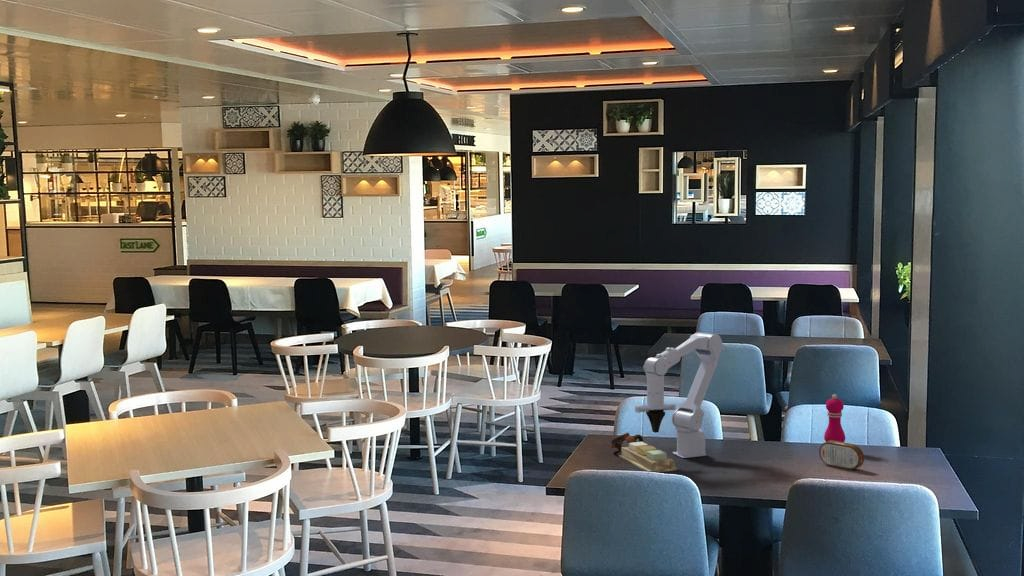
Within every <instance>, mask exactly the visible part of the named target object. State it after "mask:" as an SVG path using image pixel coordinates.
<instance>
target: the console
mask: <svg viewBox="0 0 1024 576" xmlns="http://www.w3.org/2000/svg"><path fill="white" fill-rule="evenodd" d="M620 451H621V452H620V453H621V455H620V454H619V456H618V457H619V458H620V459H623V460H624V461H625V462H628V463H630V464H632V465H633V466H635V467H637V468H638V469H641V470H643V471H645V470H646V471H645V472H647V471H657V472H656V473H664V472H673V471H678V468H677V467H676V460H675V459H673V458H672V457H669V456H667V459H666V460H657V461H652V460H650V459H648V458H647V456H642V455H640V454H638V452H634V451H632V450H630V449H629V446H628V447H627V446H622V447H621V450H620Z"/></svg>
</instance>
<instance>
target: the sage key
mask: <svg viewBox="0 0 1024 576" xmlns="http://www.w3.org/2000/svg"><path fill="white" fill-rule="evenodd" d="M667 457H668V454H667V452H666V451H663V450H661V449H657V450H654V451H647V458H648V459H650V460H652V461H657V460H666V459H667Z"/></svg>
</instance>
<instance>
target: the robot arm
mask: <svg viewBox="0 0 1024 576" xmlns="http://www.w3.org/2000/svg"><path fill="white" fill-rule="evenodd" d="M723 346H724V345H723V340H722V337H721V336H720V334H716V333H713V334H712V333H705V332H700V331H697V332H695V333H694V334H691V335H690V336H689V338H688V339H687V340H686V341H684V342H683V343H681V344H680V345H678V346H676V347H666V348H665V350H664V351H662V352H661V353H656V354H655V355H656V356H654V357H652V356H651V357H648V358H647V359H646V360H645V361H644V364H643V367H642V368H643V371H644V372H645V378H646V404H644V405H635V406H634V413H635V412H636V413H637V414H640V413H645V414H646V416H647V418H648V420H649V422H650V423H649V424H650V426H651V430H652V431H651V432H653V433H654V434H655V433H656V434H657V433H659V431H660V427H661V424H662V421H663V419H664V418H665V416H666V411H674V412H673V413H672V416H671V422H672V425H673V426H674V427H675V430H676V451H672V454H673V455H675V456H677V457H679V458H681V459H685V458H696V457H706V456H707V454H706V435H705V432H704V431H703V430H702V429H701V427H702V425H703V419H704V418H703V417H704V414H705V412H704V411H703V409H702V407H701V406H702V404H703V401H704V398H705V395H706V394H707V391H708V388H709V387H710V384H711V381H712V378H713V376H714V375H715V374H714V373H715V372H716V371H715V370H716V368H717V366H718V363H719V359H720V358H719V357H720V354H721V352H722V350H723ZM693 351H695V353H696V354H697V356H698V357H699V358H700V361H701V362H700V365H699V367H698V370H697V372H696V374H695V376H694V379H693V382H692V384H691V386H690V389H689V392H688V394H687V396H686V399H685V401H683V402H682V403H680V404H678V406H677V404H675V403H665V375H666V374H667V372H668V370H669V369H670V368H672V367H673V366H674V365H676V364H678V363H679V362H680V361H681V359H682V357H683V356H686V355H688V354H690V353H691V352H693Z"/></svg>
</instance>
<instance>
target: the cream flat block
mask: <svg viewBox="0 0 1024 576" xmlns="http://www.w3.org/2000/svg"><path fill="white" fill-rule="evenodd" d="M637 449H638V454H640V455H642V456H647V451H654V450H658V448H656V446H653V445H650V444H649V445H648V446H641V447H637Z"/></svg>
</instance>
